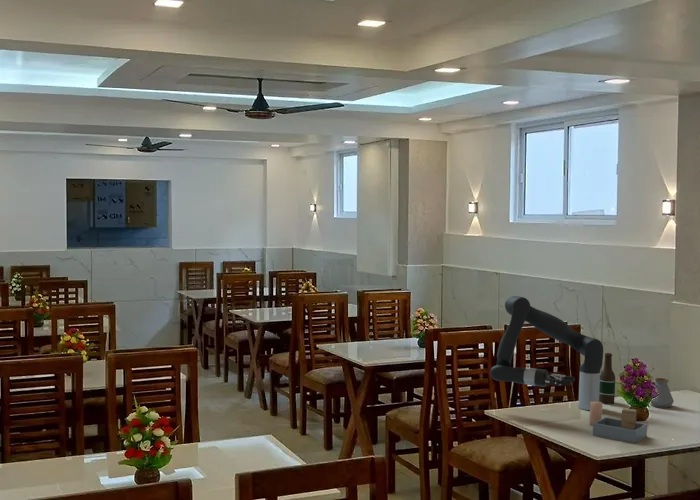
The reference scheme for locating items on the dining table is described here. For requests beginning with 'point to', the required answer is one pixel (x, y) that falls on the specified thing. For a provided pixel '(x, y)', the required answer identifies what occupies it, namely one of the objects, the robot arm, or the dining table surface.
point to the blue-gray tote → (618, 430)
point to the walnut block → (628, 419)
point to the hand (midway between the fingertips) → (572, 381)
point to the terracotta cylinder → (595, 411)
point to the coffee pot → (662, 394)
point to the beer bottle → (607, 382)
